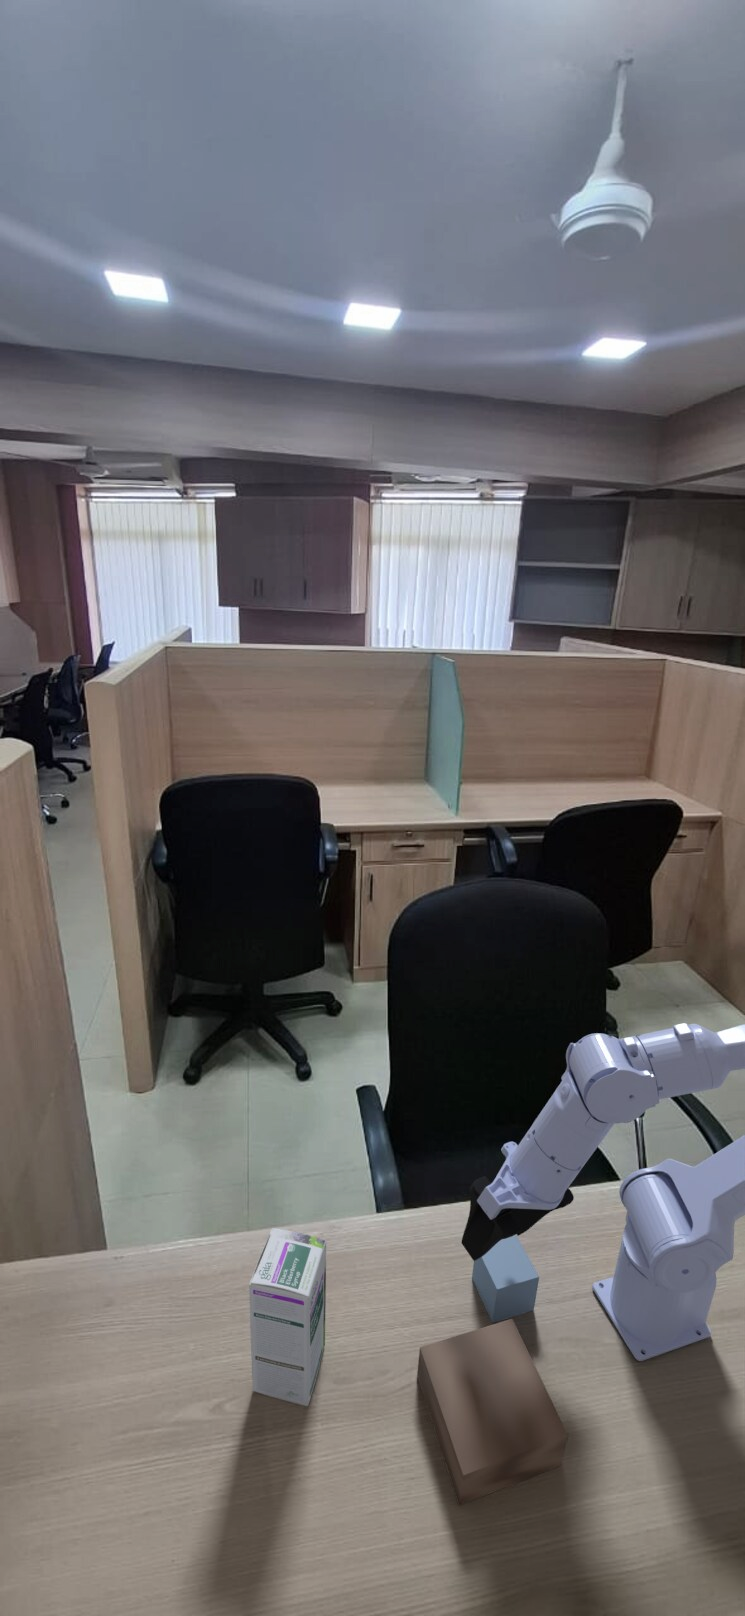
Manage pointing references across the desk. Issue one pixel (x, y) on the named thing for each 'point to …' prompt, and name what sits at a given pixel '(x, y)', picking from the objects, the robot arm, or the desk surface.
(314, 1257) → the syrup box
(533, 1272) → the blue cube
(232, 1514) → the desk surface
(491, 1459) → the walnut block
